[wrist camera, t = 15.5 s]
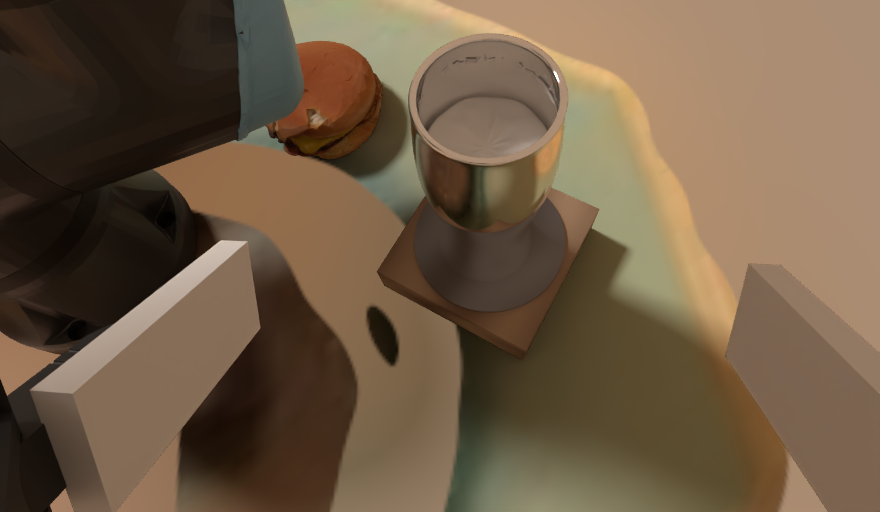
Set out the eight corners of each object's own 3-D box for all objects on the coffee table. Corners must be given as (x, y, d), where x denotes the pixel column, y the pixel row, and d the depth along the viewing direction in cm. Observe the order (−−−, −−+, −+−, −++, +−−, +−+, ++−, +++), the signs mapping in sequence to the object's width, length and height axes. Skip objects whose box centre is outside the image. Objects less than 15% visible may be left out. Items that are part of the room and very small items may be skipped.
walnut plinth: (384, 285, 39) (376, 270, 36) (458, 167, 42) (457, 143, 39) (522, 360, 36) (526, 350, 33) (591, 227, 39) (600, 207, 36)
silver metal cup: (548, 206, 37) (589, 44, 23) (523, 301, 34) (552, 186, 20) (450, 183, 38) (431, 16, 24) (419, 273, 36) (379, 147, 22)
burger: (353, 50, 47) (340, 8, 43) (404, 126, 44) (395, 89, 40) (251, 102, 46) (226, 64, 42) (295, 184, 43) (274, 152, 39)
